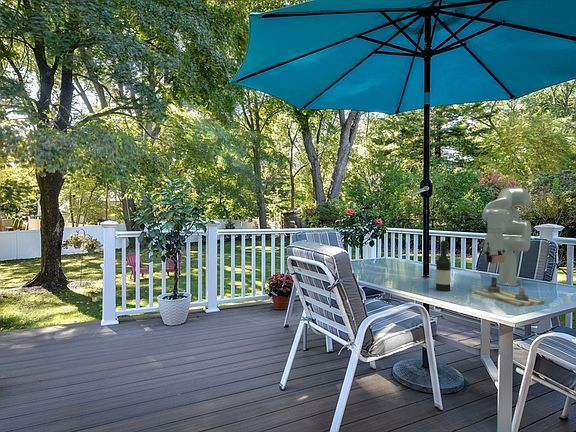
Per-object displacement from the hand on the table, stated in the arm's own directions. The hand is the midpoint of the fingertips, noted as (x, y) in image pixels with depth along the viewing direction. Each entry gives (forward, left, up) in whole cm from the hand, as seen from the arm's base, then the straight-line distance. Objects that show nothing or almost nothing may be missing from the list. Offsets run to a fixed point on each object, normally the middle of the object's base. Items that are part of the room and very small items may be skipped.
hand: (494, 261), depth 212 cm
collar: (0, 0, 0) cm, 0 cm away
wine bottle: (+21, -17, -19) cm, 33 cm away
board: (0, +9, -19) cm, 21 cm away
